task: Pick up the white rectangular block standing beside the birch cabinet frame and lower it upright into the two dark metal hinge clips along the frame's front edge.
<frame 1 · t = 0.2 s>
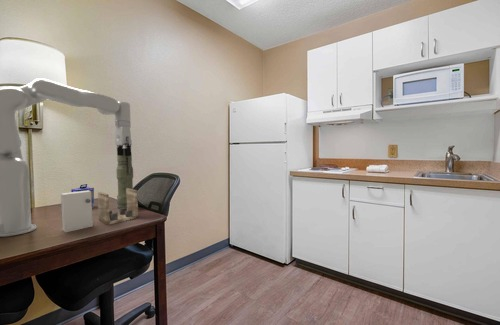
hand: (124, 155, 132), 31 cm above the table, tool pointing down, fingers open, 9 cm apart
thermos: (125, 207, 142), on the table
ink cartridge box: (83, 209, 137), on the table
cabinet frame: (118, 219, 118), on the table
white rectangular block: (78, 228, 105), on the table
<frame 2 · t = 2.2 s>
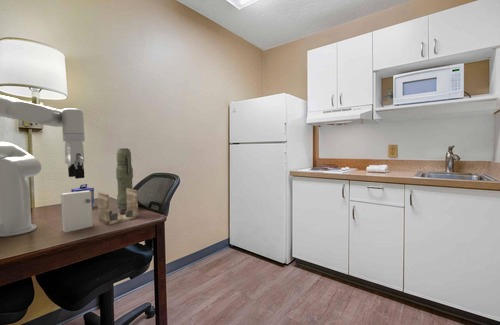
hand: (76, 177, 103), 23 cm above the table, tool pointing down, fingers open, 9 cm apart
nothing on the table moved.
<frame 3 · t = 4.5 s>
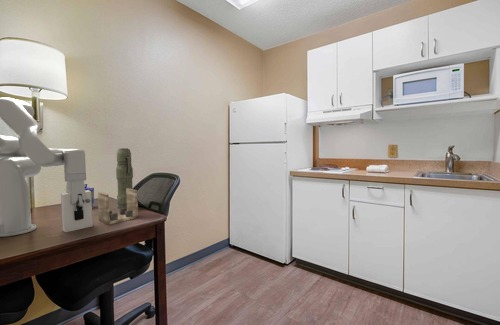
hand: (77, 218, 104), 5 cm above the table, tool pointing down, fingers closed on white rectangular block, 4 cm apart
white rectangular block: (78, 228, 105), on the table, touching gripper
everything else where it was.
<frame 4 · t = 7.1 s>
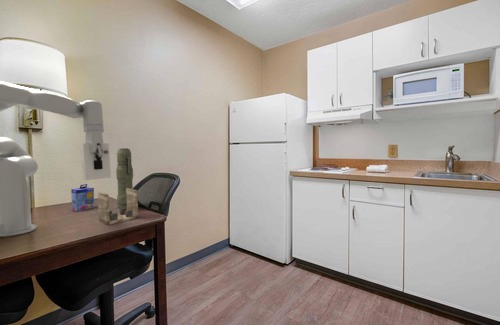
hand: (96, 168, 109), 26 cm above the table, tool pointing down, fingers closed on white rectangular block, 4 cm apart
white rectangular block: (97, 178, 109), point 21 cm above the table, touching gripper
everything else where it was.
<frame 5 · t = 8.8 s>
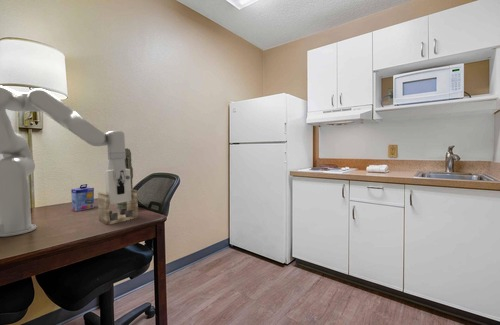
hand: (118, 193, 117), 13 cm above the table, tool pointing down, fingers closed on white rectangular block, 4 cm apart
white rectangular block: (119, 202, 117), point 9 cm above the table, touching gripper
everything else where it was.
when the fingers open (7 cm above the table, at t = 10.2 s): white rectangular block drops 1 cm, resting on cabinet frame.
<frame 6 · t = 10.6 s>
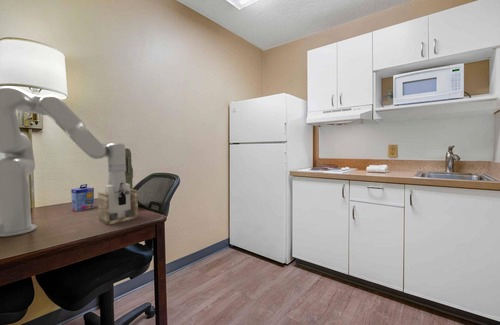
hand: (118, 203, 117), 8 cm above the table, tool pointing down, fingers open, 8 cm apart
white rectangular block: (118, 216, 117), point 1 cm above the table, touching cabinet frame
everything else where it was.
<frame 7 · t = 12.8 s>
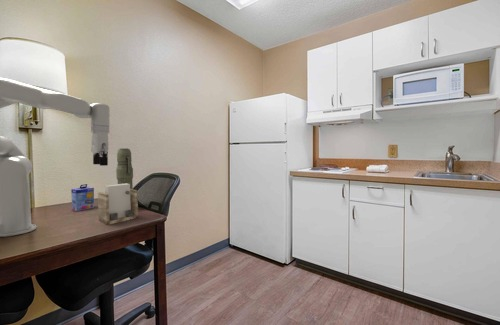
hand: (100, 164, 115), 27 cm above the table, tool pointing down, fingers open, 9 cm apart
nothing on the table moved.
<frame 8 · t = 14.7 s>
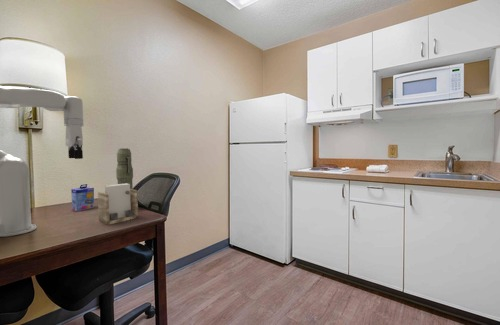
hand: (75, 158, 115), 30 cm above the table, tool pointing down, fingers open, 9 cm apart
nothing on the table moved.
at the end: white rectangular block 0.0 cm off-centre on the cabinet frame, point 1.2 cm above the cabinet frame's base; white rectangular block tilted 0°; the gripper is holding nothing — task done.
